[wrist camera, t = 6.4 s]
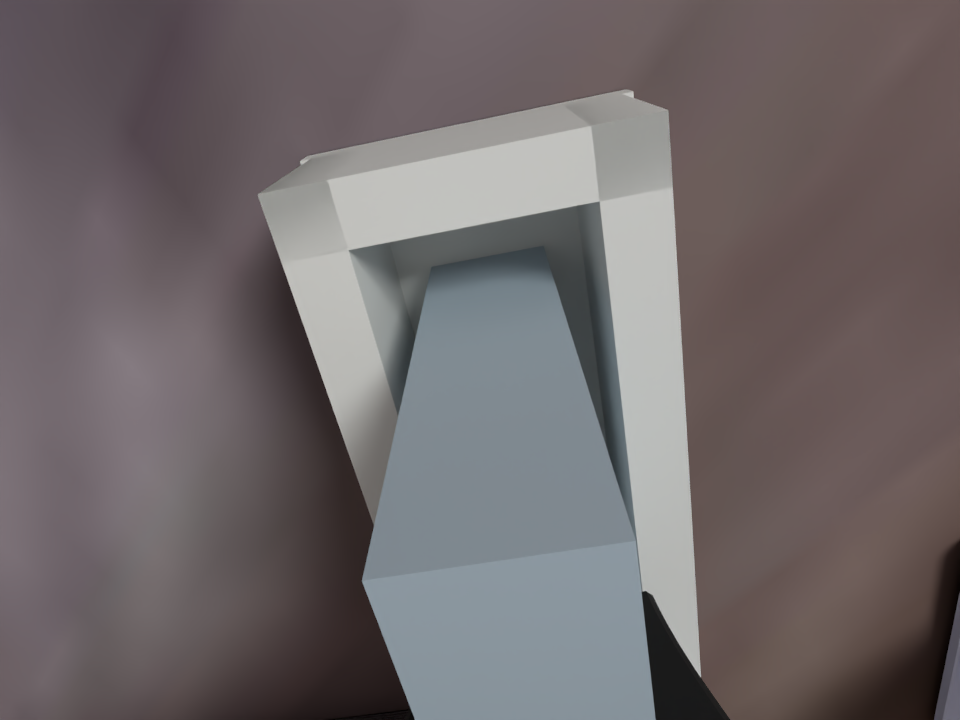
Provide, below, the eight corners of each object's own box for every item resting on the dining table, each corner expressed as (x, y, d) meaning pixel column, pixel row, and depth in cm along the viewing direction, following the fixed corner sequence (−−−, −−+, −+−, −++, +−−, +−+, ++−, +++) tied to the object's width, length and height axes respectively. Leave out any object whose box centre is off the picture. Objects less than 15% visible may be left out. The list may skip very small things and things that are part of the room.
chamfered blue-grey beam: (543, 245, 12) (636, 541, 5) (607, 661, 17) (698, 1096, 10) (431, 267, 12) (362, 579, 5) (529, 672, 17) (562, 1105, 10)
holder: (626, 89, 11) (684, 107, 8) (675, 671, 18) (716, 805, 15) (307, 155, 12) (242, 197, 9) (474, 697, 19) (473, 831, 16)
